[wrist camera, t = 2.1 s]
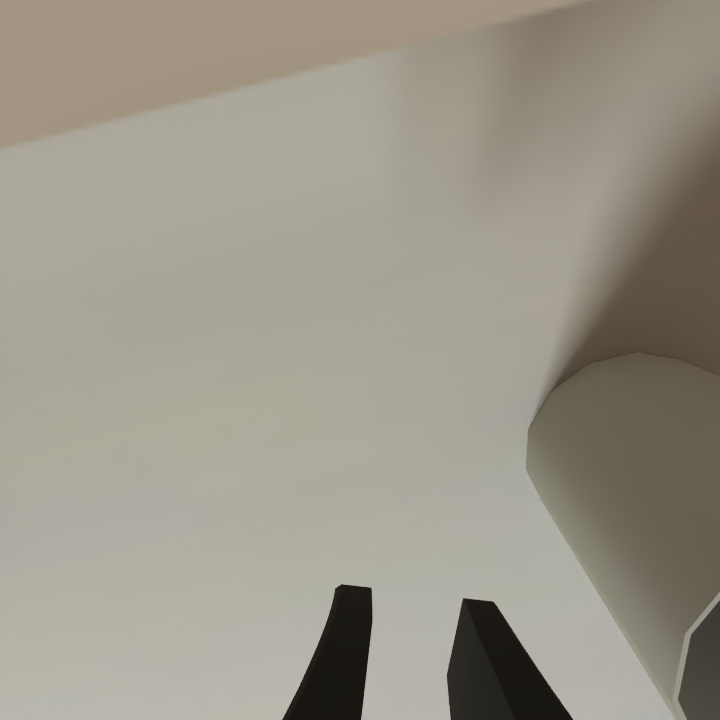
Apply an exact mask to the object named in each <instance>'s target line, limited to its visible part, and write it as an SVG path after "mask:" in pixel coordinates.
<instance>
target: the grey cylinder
mask: <svg viewBox="0 0 720 720" xmlns="http://www.w3.org/2000/svg"><path fill="white" fill-rule="evenodd" d="M526 470H527V472H528V474H529V476H530V478H531V480H532V482H533V484H534V486H535V488H536V490H537V492H538V494H539V496H540V498H541V500H542V502H543V504H544V506H545V507H546V509H547V511H548V512H549V514H550V515H551V517H552V519H553V520H554V522H555V524H556V525H557V527H558V529H559V530H560V532H561V533H562V535H563V537H564V538H565V540H566V542H567V543H568V545H569V546H570V548H571V550H572V551H573V553H574V555H575V556H576V558H577V560H578V561H579V563H580V564H581V566H582V568H583V569H584V571H585V573H586V574H587V576H588V577H589V579H590V581H591V582H592V584H593V586H594V587H595V589H596V591H597V592H598V594H599V595H600V597H601V599H602V600H603V602H604V604H605V605H606V607H607V608H608V610H609V612H610V613H611V615H612V617H613V618H614V620H615V622H616V623H617V625H618V626H619V628H620V630H621V631H622V633H623V635H624V636H625V638H626V639H627V641H628V643H629V644H630V646H631V648H632V649H633V651H634V653H635V654H636V656H637V657H638V659H639V661H640V662H641V664H642V666H643V667H644V669H645V670H646V672H647V674H648V675H649V677H650V679H651V680H652V682H653V684H654V685H655V687H656V688H657V690H658V692H659V693H660V695H661V697H662V698H663V700H664V701H665V703H666V705H667V706H668V708H669V710H670V711H671V713H672V715H673V716H674V718H675V719H676V720H720V376H719V375H717V374H714V373H712V372H709V371H707V370H705V369H702V368H700V367H697V366H695V365H693V364H690V363H688V362H686V361H683V360H679V359H673V358H668V357H662V356H657V355H651V354H646V353H640V352H634V353H630V354H626V355H622V356H618V357H614V358H610V359H606V360H602V361H598V362H593V363H589V364H588V365H587V366H585V367H584V368H582V369H581V370H580V371H578V372H577V373H576V374H574V375H573V376H571V377H570V378H569V379H567V380H566V381H565V382H563V383H562V384H560V385H559V386H558V387H556V388H555V389H554V390H552V391H551V392H550V393H549V395H548V397H547V399H546V400H545V402H544V404H543V405H542V407H541V409H540V411H539V412H538V414H537V416H536V417H535V419H534V421H533V422H532V424H531V426H530V428H529V429H528V443H527V459H526Z"/></svg>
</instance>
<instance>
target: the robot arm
mask: <svg viewBox="0 0 720 720" xmlns="http://www.w3.org/2000/svg"><path fill="white" fill-rule="evenodd" d="M371 628H372V590H371V588H369V587H360V586H351V585H343V584H341V585H340V586H338V587H337V588H335V594H334V599H333V603H332V607H331V610H330V613H329V616H328V619H327V622H326V625H325V628H324V630H323V633H322V636H321V638H320V641H319V643H318V646H317V648H316V650H315V653H314V655H313V657H312V659H311V662H310V664H309V666H308V668H307V671H306V673H305V675H304V677H303V680H302V682H301V684H300V686H299V688H298V690H297V692H296V694H295V696H294V698H293V700H292V702H291V704H290V706H289V708H288V710H287V712H286V714H285V716H284V718H283V719H282V720H361V715H362V707H363V698H364V689H365V681H366V672H367V663H368V654H369V646H370V637H371ZM447 682H448V694H449V705H450V716H451V720H573V718H572V717H571V716H570V714H569V713H568V711H567V710H566V709H565V707H564V706H563V704H562V703H561V702H560V700H559V699H558V697H557V696H556V695H555V693H554V692H553V690H552V689H551V687H550V686H549V685H548V683H547V682H546V680H545V679H544V677H543V676H542V674H541V673H540V671H539V670H538V668H537V667H536V665H535V664H534V662H533V661H532V659H531V658H530V656H529V655H528V653H527V652H526V650H525V649H524V647H523V646H522V644H521V643H520V641H519V640H518V638H517V637H516V635H515V633H514V632H513V630H512V629H511V627H510V626H509V624H508V623H507V621H506V620H505V618H504V616H503V615H502V613H501V612H500V610H499V609H498V607H497V606H496V605H495V603H494V602H491V601H482V600H474V599H465V598H463V601H462V606H461V611H460V616H459V620H458V625H457V630H456V635H455V639H454V644H453V649H452V654H451V658H450V663H449V668H448V673H447Z"/></svg>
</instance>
